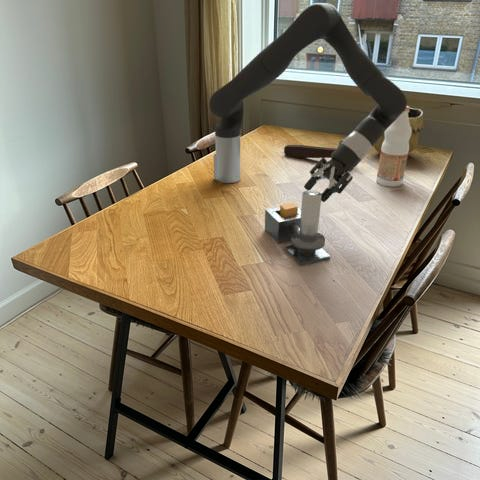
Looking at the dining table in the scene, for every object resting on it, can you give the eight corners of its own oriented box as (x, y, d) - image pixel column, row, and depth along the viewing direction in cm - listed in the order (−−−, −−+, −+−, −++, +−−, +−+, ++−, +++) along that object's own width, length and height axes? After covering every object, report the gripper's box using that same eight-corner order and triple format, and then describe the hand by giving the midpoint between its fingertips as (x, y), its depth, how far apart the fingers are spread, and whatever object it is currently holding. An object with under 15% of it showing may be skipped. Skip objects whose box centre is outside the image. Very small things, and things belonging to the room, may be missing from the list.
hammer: (284, 165, 191) (350, 169, 176) (282, 139, 187) (350, 141, 171) (288, 161, 195) (354, 165, 180) (287, 136, 190) (354, 138, 175)
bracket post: (264, 230, 132) (266, 173, 123) (292, 224, 135) (296, 169, 126) (299, 266, 115) (304, 204, 106) (330, 258, 118) (338, 197, 109)
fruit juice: (380, 187, 160) (393, 109, 146) (372, 177, 169) (384, 103, 155) (405, 187, 161) (421, 109, 147) (397, 177, 169) (411, 103, 155)
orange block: (280, 229, 131) (280, 205, 126) (291, 226, 132) (292, 202, 128) (284, 234, 128) (285, 209, 124) (297, 230, 129) (297, 206, 125)
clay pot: (388, 168, 178) (397, 118, 168) (356, 152, 194) (362, 106, 185) (428, 161, 185) (438, 113, 175) (393, 146, 202) (401, 102, 192)
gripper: (330, 136, 129) (294, 178, 131) (359, 150, 117) (318, 197, 119) (344, 151, 133) (308, 192, 135) (373, 166, 121) (333, 211, 123)
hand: (313, 194), depth 127 cm, fingers open, 8 cm apart
